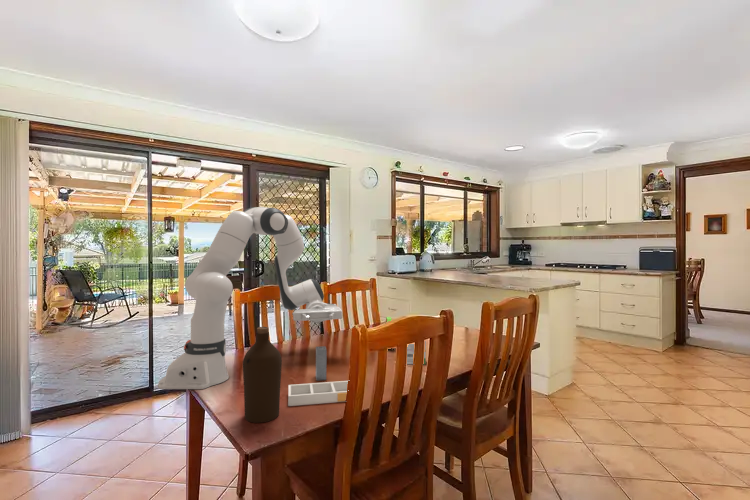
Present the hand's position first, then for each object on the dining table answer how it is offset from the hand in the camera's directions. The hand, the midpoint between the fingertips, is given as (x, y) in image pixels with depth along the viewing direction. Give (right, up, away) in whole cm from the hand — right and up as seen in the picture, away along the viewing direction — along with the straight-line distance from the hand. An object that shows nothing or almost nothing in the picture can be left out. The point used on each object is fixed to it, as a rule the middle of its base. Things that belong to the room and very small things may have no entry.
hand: (319, 317), depth 150 cm
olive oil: (-10, -20, -43) cm, 49 cm away
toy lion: (+29, -20, +31) cm, 47 cm away
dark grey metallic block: (+2, -20, -12) cm, 23 cm away
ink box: (+39, -20, +8) cm, 45 cm away
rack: (+5, -20, -30) cm, 36 cm away
